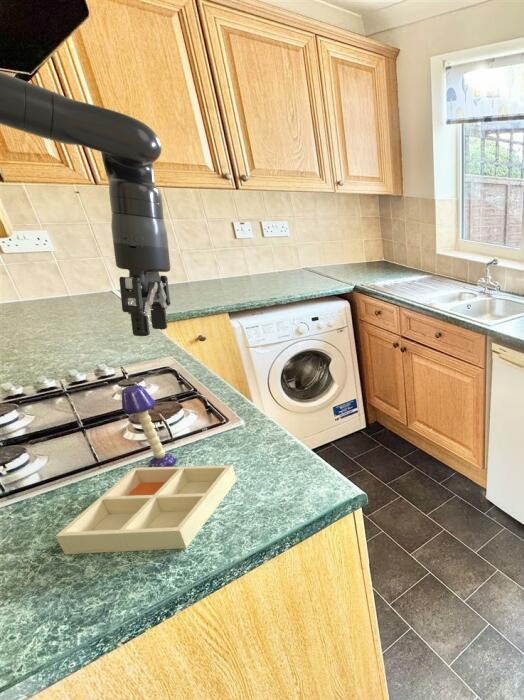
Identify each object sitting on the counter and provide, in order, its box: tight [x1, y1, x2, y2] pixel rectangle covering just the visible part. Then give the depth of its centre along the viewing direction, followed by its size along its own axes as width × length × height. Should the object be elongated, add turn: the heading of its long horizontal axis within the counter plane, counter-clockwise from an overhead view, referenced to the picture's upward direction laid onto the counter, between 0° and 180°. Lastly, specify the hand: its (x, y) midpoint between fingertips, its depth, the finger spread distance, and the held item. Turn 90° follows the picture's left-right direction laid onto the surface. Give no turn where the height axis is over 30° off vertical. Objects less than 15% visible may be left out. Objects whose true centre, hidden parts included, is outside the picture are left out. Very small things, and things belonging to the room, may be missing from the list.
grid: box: [55, 464, 238, 555], centre depth 69 cm, size 16×16×4 cm
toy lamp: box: [121, 384, 178, 467], centre depth 78 cm, size 5×5×17 cm
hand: (151, 332), depth 79 cm, fingers open, 8 cm apart
